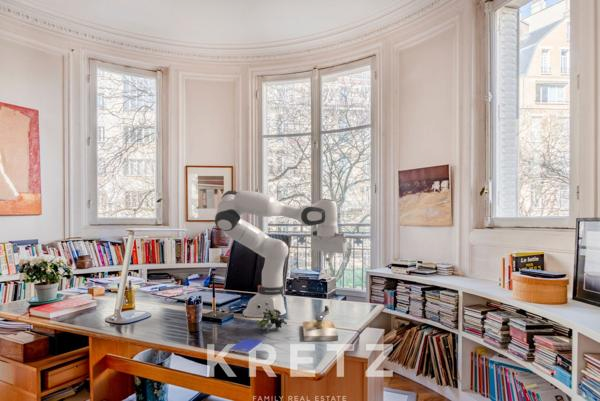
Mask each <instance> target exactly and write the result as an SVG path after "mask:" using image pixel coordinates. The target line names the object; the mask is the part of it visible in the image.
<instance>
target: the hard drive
mask: <svg viewBox="0 0 600 401" xmlns="http://www.w3.org/2000/svg"><path fill="white" fill-rule="evenodd" d="M263 342H264V341H263V340H262V339H253V338H244V339H243V340H240V341H239V342H238V343H236V344H234V345H233V346H231V347H230V348H229V350H231V351H230V352H232V351H235V352H236V353H239V354H246V355H248V354H250V353H251V352H252V351H254V350H256V349H257V347H259V346H260V345H261V344H263ZM235 352H234V353H235Z"/></svg>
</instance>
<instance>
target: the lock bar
mask: <svg viewBox="0 0 600 401" xmlns="http://www.w3.org/2000/svg"><path fill="white" fill-rule="evenodd" d="M329 313H330V308H329V305H324V310H323V311H322V312H320V313H318V314H316V315H315V320H318V321H321V320H322V321H324V318H325V317H326V316H327V315H329Z"/></svg>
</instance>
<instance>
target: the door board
mask: <svg viewBox="0 0 600 401" xmlns="http://www.w3.org/2000/svg"><path fill="white" fill-rule="evenodd" d="M302 331H303V341H304V342H321V341H322V342H323V341H324V342H325V341H327V342H329V341H332V342H333V341H339V334H338V332H337V329H336V327H335V324H334V321H332V320H327V321H325V320H321V321H318V320H316V319H313V320H312V321H302Z"/></svg>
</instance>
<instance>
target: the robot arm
mask: <svg viewBox="0 0 600 401" xmlns="http://www.w3.org/2000/svg"><path fill="white" fill-rule="evenodd" d="M337 205H338V204H337V203H336V201H335V200H332V199H329V198H328V199H327V198H321V199H320V200H318V201H317V202H315V203H313V204H310V205H304V206H295V205H291V204H288V203H287V204H286V203H283V202H281V201H279V200H278V199H276V198H275V197H273V196H271V195H269V194H266V193H262V192H258V191H254V190H239V191H236V190H227V191H226V192H224V193H223V194H222V196H221V198H220V201H219V203H218V206H217V211H216V214H215V216H214V223H215V226H216V227H217V228H218V229H219V230H221V231H222V232H223V233H224V234H225V235H227V237H229V238H231V239H232V240H234V241H236V242H238V243H239V244H241V245H242V246H245V247H246V248H248V249H250V251H251V250H252V251H253V252H254V253H256V254H258V255H259V256H260V257H262V258H264V264H263V268H262V270H261V285H260V284H258V285H257V293H256V294H255V295H254V296H252V298H250V299H249V300H248V303H247V306H246V308H245V309H244V310H243V311H242V316H243V315H244V316H243V317H245V316H247V318H249V317H250V318H263V317H264V315H265V314H264V315H263V311H264V312H266V313H268V311H269V310H271V311H274V310H273V309H277V310H279V311H280V312H281V314H280V315H282V316H283V315H285V314H286V313H287V310H286V306H285V299H284V295H285V286H284V284H283V283H284V281H283V280H284V279H283V278H284V265H285V262H286V259H287V256H288V254H289V247H288V244H287V243H286V242H285V241H283V240H281V239H278V238H274V237H271V236H269V235H267V234H266V233H265V232H263V231H262V230H261V229H260V228H258V227H256V226H255V225H253V224H251V223H250V222H248V221H246V220H245V219H242V218H241V216H242V215H244V214H249V215H252V216H258V217H263V218H264V217H265V218H267V217H268V218H269V217H277V216H278V217H283V218H284V217H285V218H289V219H293V220H297V221H298V222H299V223H301V224H302V225H303V226H308V227H314V226H316V225H318V226H319V227H318V228H317V229H315V230H313V231H311V234H310V235H311V236H312V237H311V238H310V249H311V250H312V251H313V252H314V251H315V252H322V253H323V254H322V255H323V256H324V260H325V262H333V258H334V255H335V254H346V253H347V252H348V243H347V236H346V235H345V234H344V233H341V232H338V228H339V227H338V222H337V221H338V206H337ZM274 312H275V311H274ZM275 313H276V312H275Z"/></svg>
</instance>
